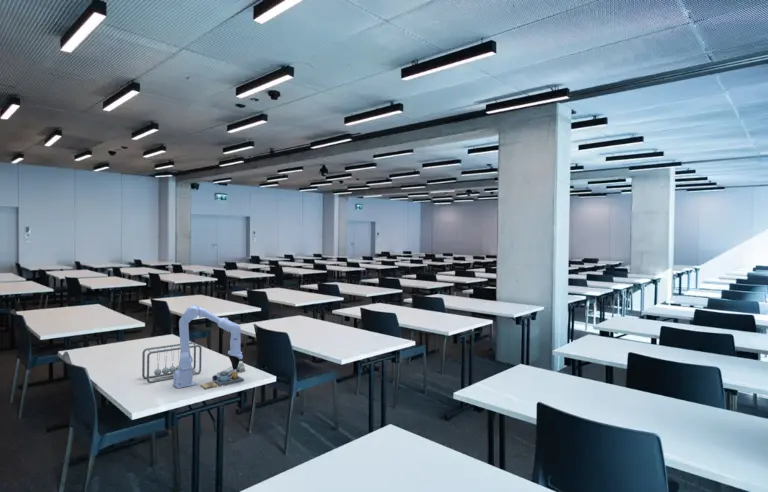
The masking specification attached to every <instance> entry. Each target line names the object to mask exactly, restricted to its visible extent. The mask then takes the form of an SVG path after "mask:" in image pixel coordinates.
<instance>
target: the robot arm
mask: <svg viewBox="0 0 768 492" xmlns="http://www.w3.org/2000/svg"><path fill="white" fill-rule="evenodd" d="M197 317H198V318H199V319H200V318H206V319H208V320H210V321H211V322H214V323H216V324H217V327H219V328H221V329H223V330H224V331H225V332H228V333H229V332H230V338H229V350H227V355H229V357H228V359H229V360H230V363H231V366H232V367H233V369H237V368H238V364H239V361H241V360H242V359H243V358H244V357H243V356H244V355H243V351H241V342H242V341H241V339H242V338H241V332H242V330H241V329H242V328H241V326H240V325H239V324H238V323H236V322H235V321H234V322H233V321H232V320H229V318H228V317H219V316H217V315H216V314H213V313H212V312H211V311H208V310H207V309H205V308H203V307H200V306H198V305H197V304H192V305H191V306H189V307H188V308H186V309H185V311H184V313H183V314H182V315H181V317H180V319H179V321H178V328H179V331H178V332H179V344H180V346H179V347H180V352H181V355H180V354H179V361H178V365H179V369H178V370H176V371H174V374H172V375H173V376H172V377H173V379H172V380H173V381H172V382H173V384H172V385H173V386H174V387H175V388H177V389H181V388H185V387H191V386H195V385H196V383H195V382H193V378H194V375H193V373H194V370H193V367H194V366H192V363H193V362H194V358H193V356H192V355H191V348H190V346H191V344H189V342H190V334H189V333H190V330H189V323H191V321H193V320H194V319H196V318H197Z"/></svg>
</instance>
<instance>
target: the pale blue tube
mask: <svg viewBox="0 0 768 492" xmlns="http://www.w3.org/2000/svg"><path fill="white" fill-rule="evenodd" d="M245 367H246V365H245V364H244V362H243V361H242V360H240V361H239V364H238V368H237V369H233V367H232V365H231V366H229V367H227V368H225V369H224V370H222V371H219V372H217V373H216V374H214V375H212V376H211V378H212V382H214V380H218V379H220V372H225V371H226V372H229V374H228V376H229V375H230V374H232V372H234V371H237V372H238V373H242V372H243V373H244V372H245V371H246V368H245Z"/></svg>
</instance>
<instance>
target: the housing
mask: <svg viewBox="0 0 768 492" xmlns="http://www.w3.org/2000/svg"><path fill="white" fill-rule="evenodd" d="M244 381H245V378H243V377H241V376H240V375H238V378H237V379H232V376H228V382H223V383H220V379H218V380H214V381H213V382H214V383H216V384H218V387H223V386H222V385H225V386H228V384H229V385H232V384H238V383H242V382H244Z"/></svg>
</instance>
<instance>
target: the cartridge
mask: <svg viewBox="0 0 768 492" xmlns="http://www.w3.org/2000/svg"><path fill="white" fill-rule="evenodd" d="M219 372H220V383H223V382H228V377H229V375H230V374H229V372H226V371H225V372H221V371H219ZM228 374H229V375H228Z"/></svg>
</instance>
